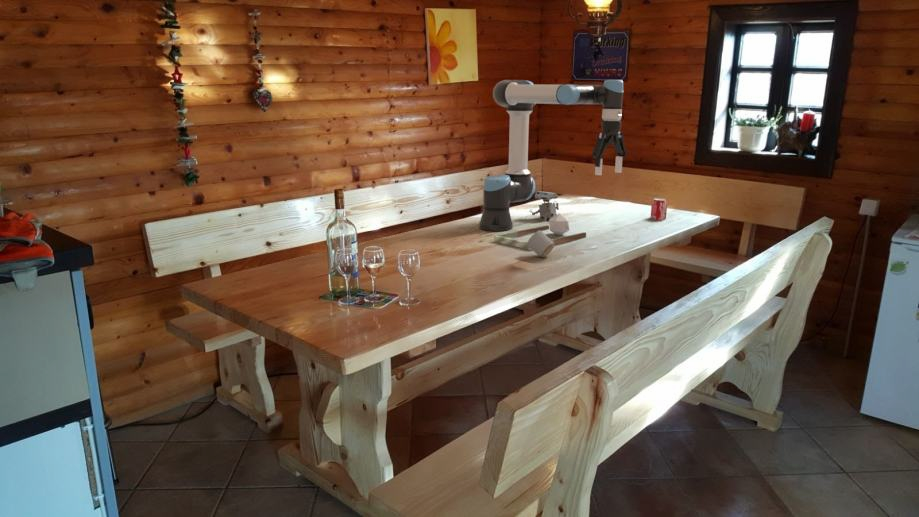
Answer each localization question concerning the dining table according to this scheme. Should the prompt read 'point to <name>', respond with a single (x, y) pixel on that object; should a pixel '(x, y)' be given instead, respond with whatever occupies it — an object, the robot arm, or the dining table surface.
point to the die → (559, 224)
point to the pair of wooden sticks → (510, 240)
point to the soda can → (658, 209)
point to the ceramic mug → (540, 244)
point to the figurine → (546, 205)
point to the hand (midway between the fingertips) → (608, 173)
